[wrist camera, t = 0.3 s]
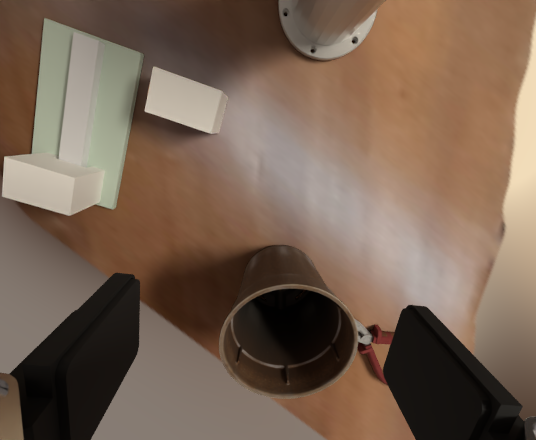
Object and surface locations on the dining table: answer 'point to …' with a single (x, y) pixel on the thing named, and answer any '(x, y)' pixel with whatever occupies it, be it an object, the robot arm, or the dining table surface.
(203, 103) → the block
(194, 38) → the dining table surface
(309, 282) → the plant pot
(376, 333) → the pliers
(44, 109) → the din panel
